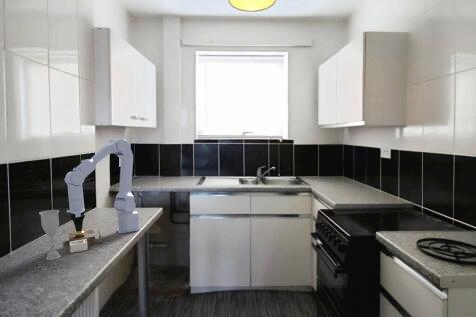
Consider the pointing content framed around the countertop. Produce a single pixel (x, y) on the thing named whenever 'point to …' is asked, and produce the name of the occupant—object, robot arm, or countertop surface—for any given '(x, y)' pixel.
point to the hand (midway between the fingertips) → (78, 230)
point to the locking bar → (93, 234)
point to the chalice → (50, 229)
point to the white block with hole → (78, 245)
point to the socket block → (89, 239)
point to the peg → (79, 233)
